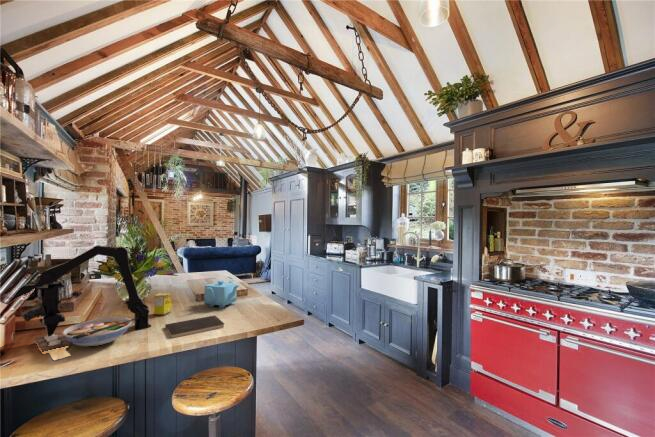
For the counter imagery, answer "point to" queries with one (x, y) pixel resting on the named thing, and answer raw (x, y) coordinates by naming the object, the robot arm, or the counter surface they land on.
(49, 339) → the button
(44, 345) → the button board
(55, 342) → the button
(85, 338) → the ramen bowl
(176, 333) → the hardcover book
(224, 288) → the teakettle
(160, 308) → the supplement box
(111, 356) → the counter surface
